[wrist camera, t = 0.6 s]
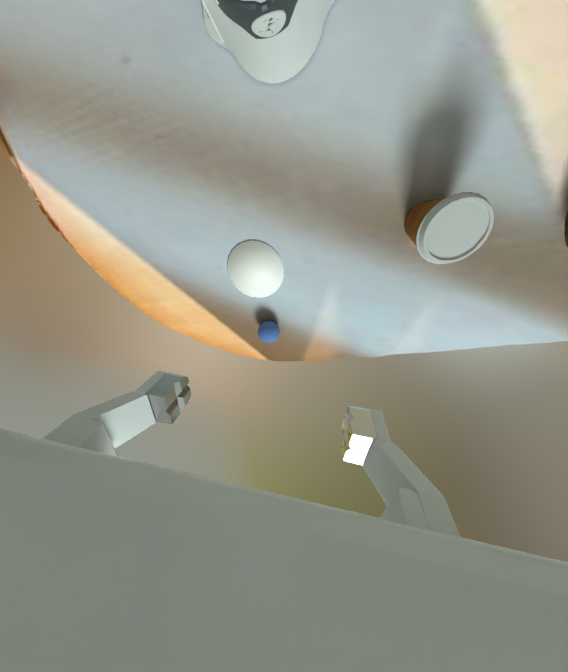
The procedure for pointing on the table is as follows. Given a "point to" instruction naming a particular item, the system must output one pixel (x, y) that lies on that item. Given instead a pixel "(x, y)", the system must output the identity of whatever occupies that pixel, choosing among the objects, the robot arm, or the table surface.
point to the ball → (268, 331)
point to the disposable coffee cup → (450, 226)
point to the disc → (255, 268)
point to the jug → (566, 229)
